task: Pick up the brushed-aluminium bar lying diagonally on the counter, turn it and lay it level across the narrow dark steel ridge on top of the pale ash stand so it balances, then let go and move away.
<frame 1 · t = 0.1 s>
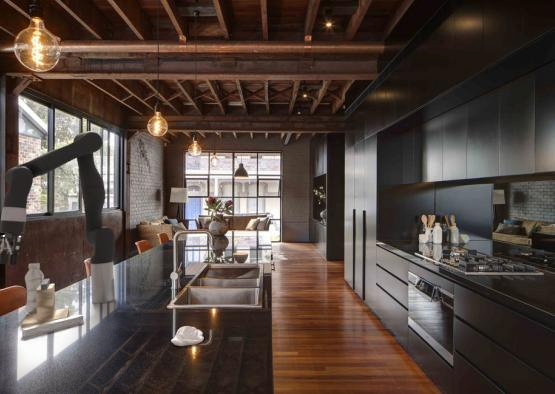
hand: (7, 264, 133), 22 cm above the kitchen island, tool pointing down, fingers open, 8 cm apart
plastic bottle: (35, 313, 148), on the kitchen island
aluminium bar: (54, 330, 127), on the kitchen island
balance stand: (46, 319, 138), on the kitchen island
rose: (188, 341, 111), on the kitchen island
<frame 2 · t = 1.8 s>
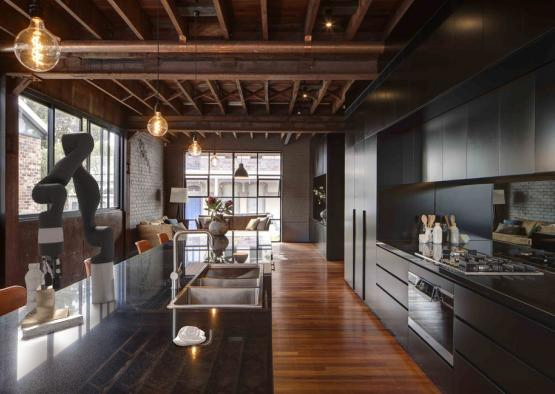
hand: (52, 287, 127), 15 cm above the kitchen island, tool pointing down, fingers open, 8 cm apart
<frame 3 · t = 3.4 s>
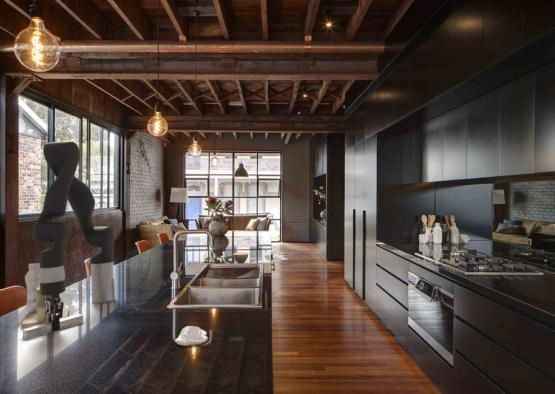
hand: (54, 328, 127), 0 cm above the kitchen island, tool pointing down, fingers closed on aluminium bar, 3 cm apart
aluminium bar: (54, 330, 127), on the kitchen island, touching gripper
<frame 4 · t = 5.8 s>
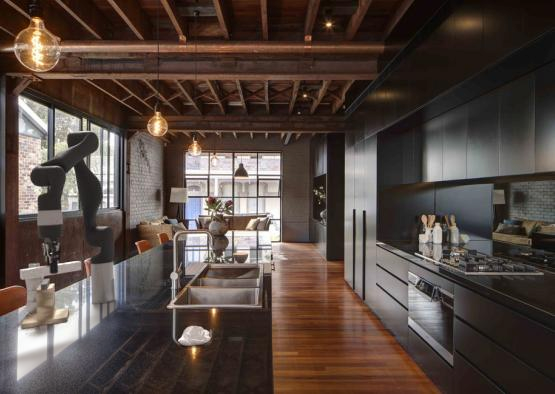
hand: (52, 272, 127), 20 cm above the kitchen island, tool pointing down, fingers closed on aluminium bar, 3 cm apart
aluminium bar: (52, 274, 127), point 19 cm above the kitchen island, touching gripper
when the fingers open (16 cm above the kitchen island, at t = 8.2 s): aluminium bar stays where it is, resting on balance stand.
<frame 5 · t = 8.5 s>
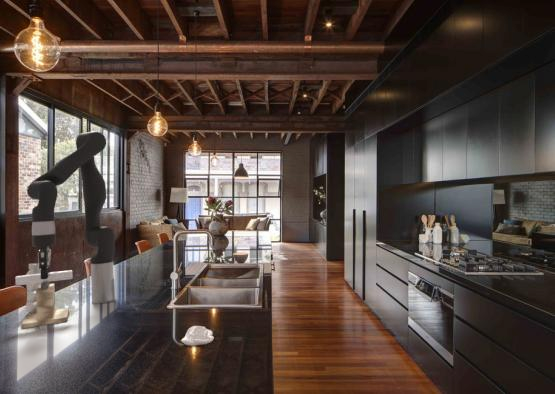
hand: (45, 277, 138), 16 cm above the kitchen island, tool pointing down, fingers open, 6 cm apart
aluminium bar: (45, 281, 138), point 14 cm above the kitchen island, touching balance stand
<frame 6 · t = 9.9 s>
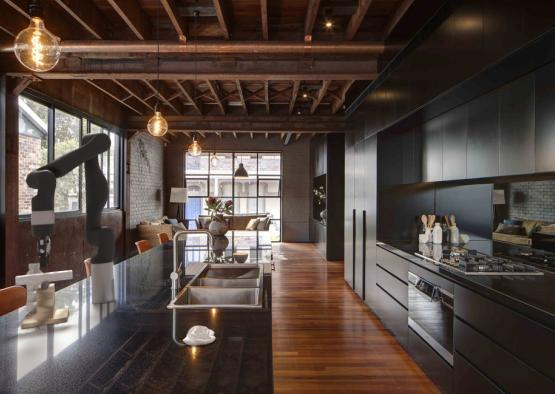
hand: (44, 265, 139), 21 cm above the kitchen island, tool pointing down, fingers open, 8 cm apart
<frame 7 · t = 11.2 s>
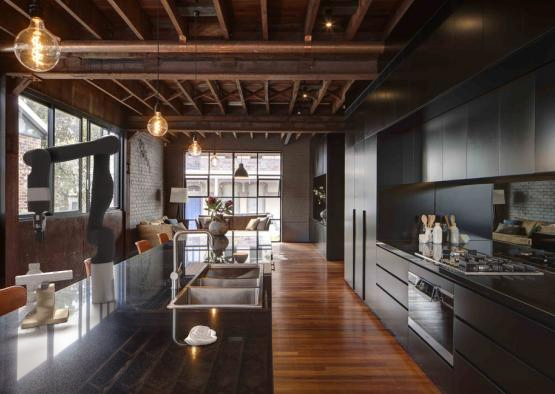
hand: (40, 241, 142), 30 cm above the kitchen island, tool pointing down, fingers open, 8 cm apart
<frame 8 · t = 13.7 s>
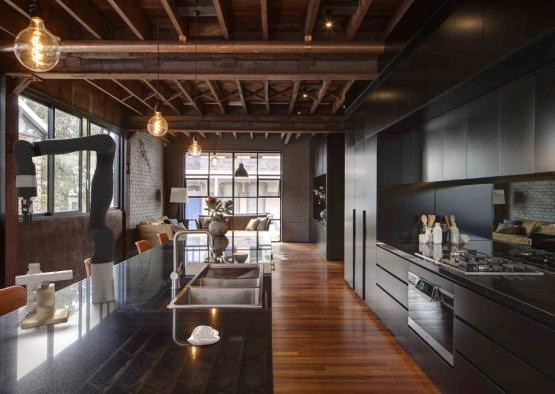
hand: (28, 223, 157), 36 cm above the kitchen island, tool pointing down, fingers open, 8 cm apart
at the end: aluminium bar 0.1 cm off-centre on the balance stand, point 14.5 cm above the balance stand's base; aluminium bar tilted 0°; the gripper is holding nothing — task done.
